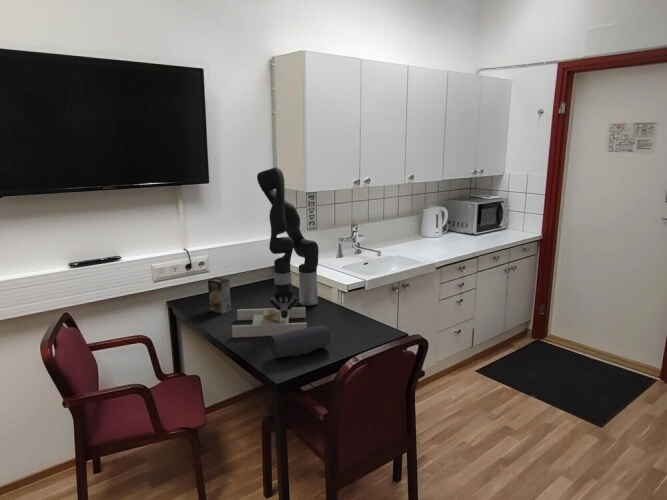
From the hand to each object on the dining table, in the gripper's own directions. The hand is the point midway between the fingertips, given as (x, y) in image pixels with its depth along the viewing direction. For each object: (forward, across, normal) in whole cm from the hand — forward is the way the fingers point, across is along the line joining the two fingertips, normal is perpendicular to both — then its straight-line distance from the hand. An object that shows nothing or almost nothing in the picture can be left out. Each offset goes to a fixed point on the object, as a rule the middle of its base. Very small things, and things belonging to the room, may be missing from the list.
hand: (284, 317), depth 211 cm
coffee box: (+4, +32, -24) cm, 40 cm away
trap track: (+4, +6, 0) cm, 8 cm away
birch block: (+1, +6, 0) cm, 6 cm away
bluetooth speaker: (+4, -6, +28) cm, 29 cm away
